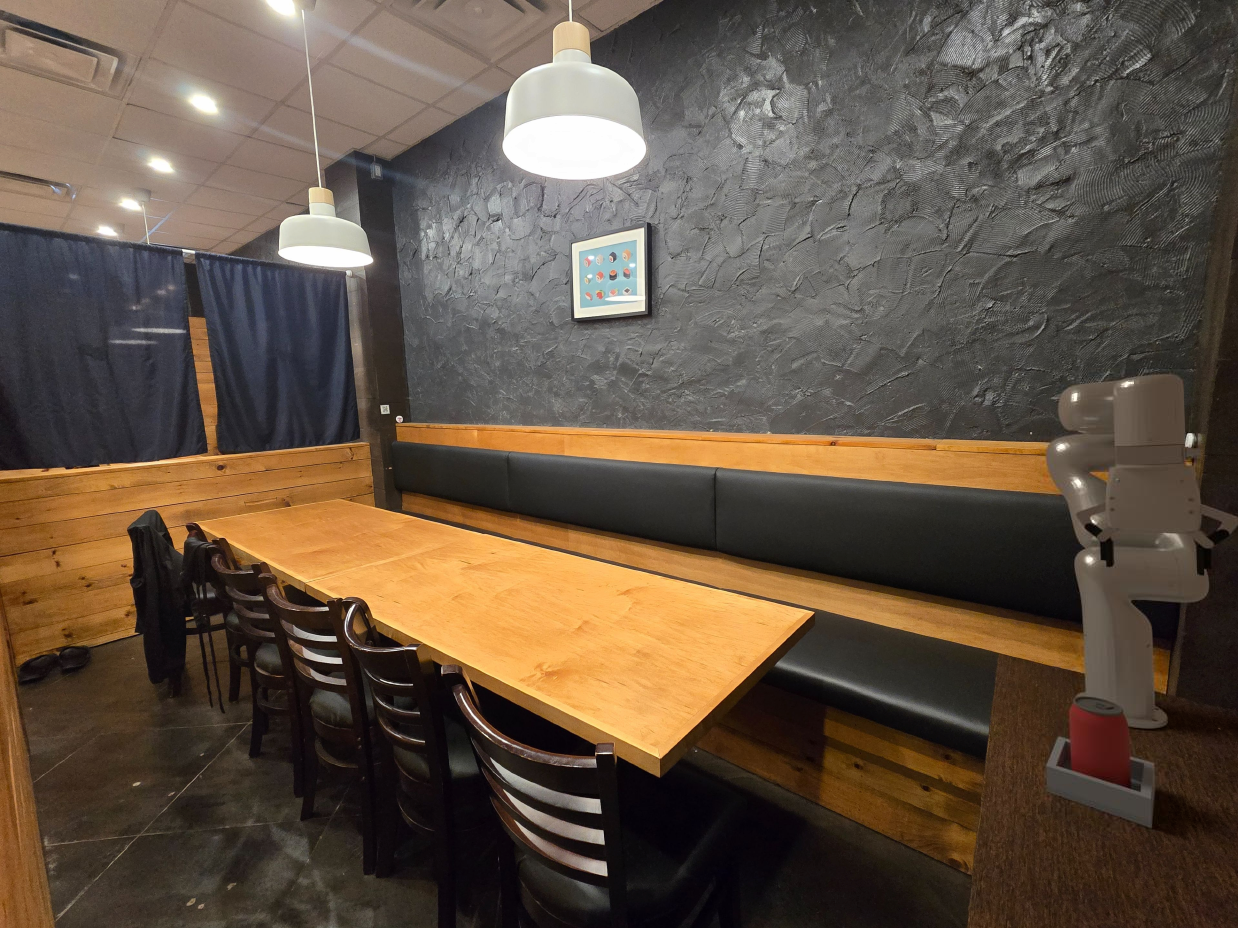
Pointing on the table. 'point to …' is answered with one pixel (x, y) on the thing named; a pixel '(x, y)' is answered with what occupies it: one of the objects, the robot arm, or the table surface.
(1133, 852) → the table surface
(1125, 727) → the beer can
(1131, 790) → the tray
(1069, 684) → the table surface
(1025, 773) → the table surface
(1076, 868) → the table surface
